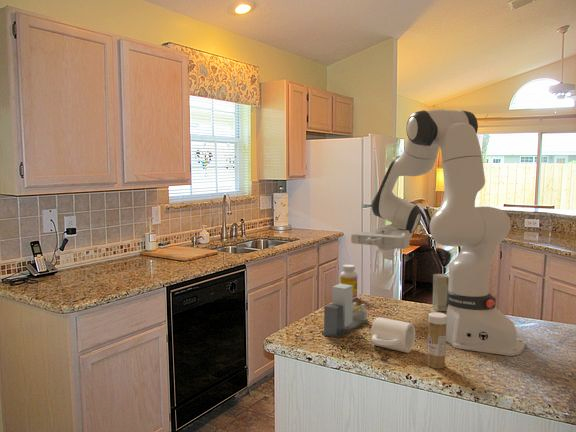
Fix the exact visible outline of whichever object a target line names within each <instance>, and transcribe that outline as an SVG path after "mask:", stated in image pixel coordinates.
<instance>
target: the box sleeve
mask: <svg viewBox="0 0 576 432" xmlns="http://www.w3.org/2000/svg"><path fill="white" fill-rule="evenodd" d="M331 290H332V293H331V295H332V297H331V298H332V299H331V300H332V301H331V304H336V305H341V306H343V327H346V326H348V325H349V324H351V323H352V312H353V303H354V300H353V285H347V284H341V283H340V282H339V283H338V284H336V285H334V286H332V287H331Z"/></svg>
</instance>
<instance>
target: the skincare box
mask: <svg viewBox="0 0 576 432" xmlns="http://www.w3.org/2000/svg"><path fill="white" fill-rule="evenodd" d="M432 278H433V279H432V307H433V309H435V310H436V312H447V308H446V294H447V290H448V285H449V275H447V274H445V273H434V274H432Z"/></svg>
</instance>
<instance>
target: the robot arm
mask: <svg viewBox="0 0 576 432" xmlns="http://www.w3.org/2000/svg"><path fill="white" fill-rule="evenodd" d="M478 130H479V122H478V120H477V117H476V115H475V114H474V113H473V112H471V111H468V110H462V109H461V110H452V109H444V108H443V109H441V108H440V109H432V110H420V111H416V112H413V113H411V114H410V116H409V118H408V120H407V121H406V135H407V137H406V143H405V145H404V149H403V151H402V154H401V155H398V156H396V157H394V159H392V161H391V162H390V164H389V166H388V168H387V170H386V172H385V175H384V177H383V179H382V182H381V184H380V186H379V188H378V190H377V192H376V195H375V196H374V198H373V200H372V202H371V210H372V213H373V215H374V216H375V217H377V218H381V219H384V220H386V221H388V222H390V223H391V224H386V225H385V224H384V225H382V226H379V227H378V228H376V230H375V231H374V232H368V231H366V232H365V231H362V232H361V231H359V232H353V233H351V235H350V242H351V244H353V245H354V244H355V245H367V246H377V248H379V249H380V250H382V251H389V250H395V249H398V250H399V249H405V250H406V249H409V248H410V244H411V243H410V242H411V238H412V237H413V233H414V232H415V231H416V230H417V229H418V226H419V224H420V222H421V218H422V217H421V216H422V215H421V210H420V208H419V205H417V204H415V203H413V202H411V201H408V200H405V199H404V198H401V197H399V196H397V195H395V194H394V193H393V190H394V187H395V185H396V183H397V182H398V178H399V177H419V176H423V175H426V174H427V173H429V172H430V171H431V170H432V169H433V168H434V166H435V163H436V160H437V157H438V154H439V149H440V151H441V153H440V154H441V162H442V165H441V166H442V173H443V183H444V185H443V187H444V189H443V190H444V191H443V196H442V197H443V198H442V200H441V204H440V206H439V208H438V210H437V211H436V212H435V213H434V214H433V216H432V217H431V219H430V222H429V233H430V235H431V237H432V239H433V240H434V242H436V243H437V244H438V245H440V246H446V247H453V248H455V247H457V248H458V247H461V248H460V251H459V253H458V254H457V256H456V257H455V258H454V259H452V260H451V262H450V264H449V267H448V276H449V285H448V290H447V294H446V308H447V311H446V313H445V314H446V315H447V323H446V343H449V344H450V345H451V346H452V347H453V348H456V349H459V350H466V351H474V352H480V353H486V354H495V355H501V356H508V357H509V356H510V357H513V356H517V355H520V354H522V353H523V351H524V350H525V349H526V345H525V344H526V343H525V341H524V340H523V339H522V338H520V337H517V329H516V325H515V323H514V321H513V320H511V319H510V318H509V317H507V316H506V315H505V314H504V313H503V312H502V311H501V310H499V309H498V308H497V307H496V305H497V304H496V303H497V295H492V294H491V293H490V292H489V289H490V288H489V287H490V276H491V275H490V273H491V267H492V262H493V260H494V257H495V254H496V252H497V251H498V248H499V246H500V244H501V243H502V241H504V240H505V238H507V237H508V235H509V234H510V231H511V228H512V227H511V226H512V225H511V219H510V216H509V215H508V214H507V212H505V211H504V210H503V209H500V208H496V207H492V206H475V205H476V198H477V195H478V193H479V192H480V191H481V190H482V189H483V188H484V187H485V185H486V177H485V170H484V163H483V155H482V150H481V149H482V147H481V145H480V140H479V137H478V135H477V133H478Z"/></svg>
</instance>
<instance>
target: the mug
mask: <svg viewBox="0 0 576 432" xmlns="http://www.w3.org/2000/svg"><path fill="white" fill-rule="evenodd" d="M414 325H415V324H413V323H412V322H406V321H401V320H395V319H391V318H385V317H379V316H378V317H376V318H375V319H374V321H373V323H372V326H371V329H370V341H371V344H372V345H374V346H377V347H381V348H385V349H389V350H395V351H397V352H402V353H408V354H409V353H410V352H411V351H412V350H413V347H414V343H415V341H416V340H415V339H416V329H415V326H414Z"/></svg>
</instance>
